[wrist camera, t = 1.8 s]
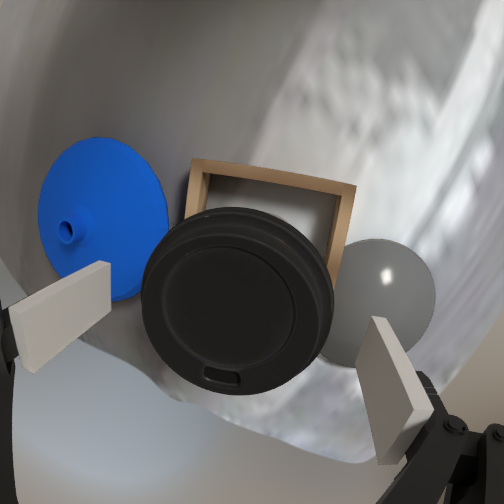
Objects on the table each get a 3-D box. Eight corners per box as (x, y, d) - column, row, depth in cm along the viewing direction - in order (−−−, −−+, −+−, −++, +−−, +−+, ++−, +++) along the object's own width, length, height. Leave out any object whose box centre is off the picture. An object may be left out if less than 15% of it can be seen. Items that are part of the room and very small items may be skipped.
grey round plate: (319, 225, 26) (320, 227, 25) (448, 253, 25) (452, 255, 24) (289, 353, 30) (289, 358, 29) (406, 368, 28) (408, 373, 28)
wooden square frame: (201, 159, 26) (192, 158, 24) (351, 184, 25) (356, 185, 22) (186, 296, 29) (177, 306, 27) (319, 322, 28) (320, 336, 26)
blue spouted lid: (137, 108, 26) (95, 95, 19) (210, 255, 28) (183, 281, 21) (40, 189, 29) (-4, 197, 22) (96, 309, 32) (60, 337, 25)
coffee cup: (233, 306, 29) (181, 416, 15) (194, 212, 27) (95, 257, 13) (330, 276, 27) (359, 382, 13) (296, 174, 25) (296, 176, 11)
